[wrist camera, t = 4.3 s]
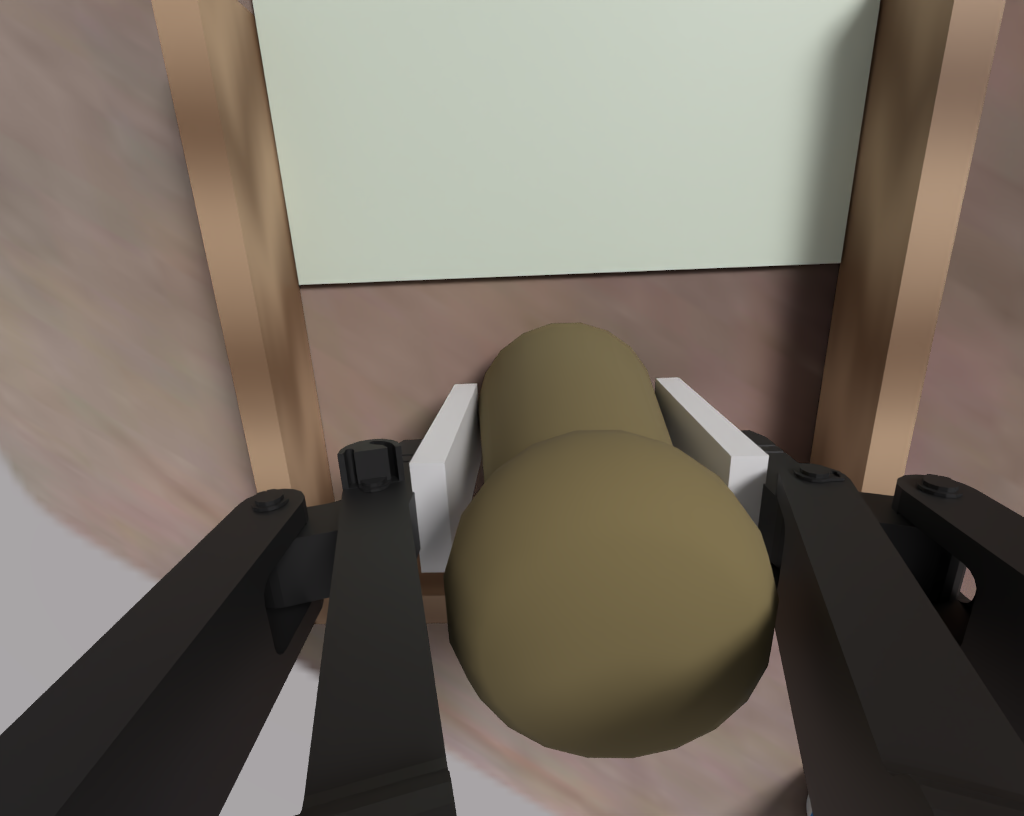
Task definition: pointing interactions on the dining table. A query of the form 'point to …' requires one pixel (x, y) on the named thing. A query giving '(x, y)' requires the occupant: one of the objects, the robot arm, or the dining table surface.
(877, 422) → the bay
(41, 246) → the dining table surface
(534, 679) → the olive chess pawn
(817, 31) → the front pad
